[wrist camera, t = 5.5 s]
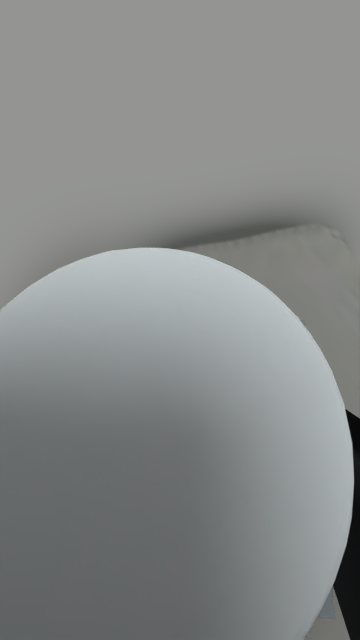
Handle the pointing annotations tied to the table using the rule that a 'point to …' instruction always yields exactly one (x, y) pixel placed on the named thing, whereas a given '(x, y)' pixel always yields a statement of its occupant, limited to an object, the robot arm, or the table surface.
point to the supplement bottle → (166, 456)
